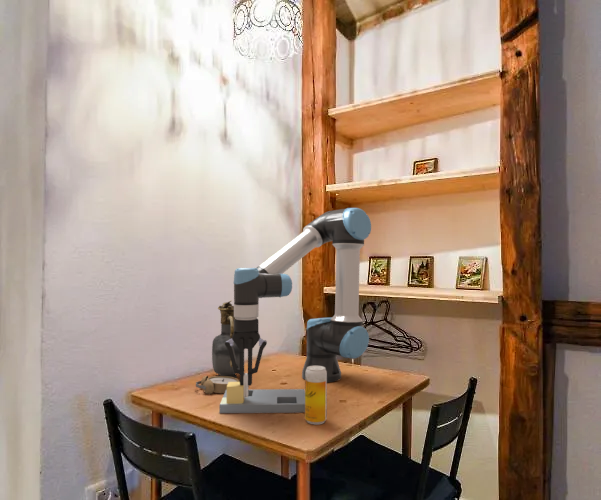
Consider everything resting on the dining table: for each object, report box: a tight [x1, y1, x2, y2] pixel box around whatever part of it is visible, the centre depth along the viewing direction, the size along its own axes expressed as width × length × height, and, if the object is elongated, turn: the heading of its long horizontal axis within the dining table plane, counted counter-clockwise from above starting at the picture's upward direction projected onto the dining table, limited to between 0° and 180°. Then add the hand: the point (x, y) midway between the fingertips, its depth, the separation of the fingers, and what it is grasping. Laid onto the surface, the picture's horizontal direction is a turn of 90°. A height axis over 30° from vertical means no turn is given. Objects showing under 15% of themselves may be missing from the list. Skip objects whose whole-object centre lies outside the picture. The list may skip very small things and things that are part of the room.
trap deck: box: [218, 388, 305, 414], centre depth 133 cm, size 26×15×2 cm, turn 93°
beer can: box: [304, 366, 328, 426], centre depth 120 cm, size 6×6×15 cm
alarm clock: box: [195, 375, 240, 395], centre depth 148 cm, size 11×5×15 cm
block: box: [227, 381, 245, 403], centre depth 129 cm, size 5×5×5 cm
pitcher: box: [211, 300, 240, 379], centre depth 162 cm, size 11×19×30 cm, turn 18°
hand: (245, 395), depth 129 cm, fingers closed
